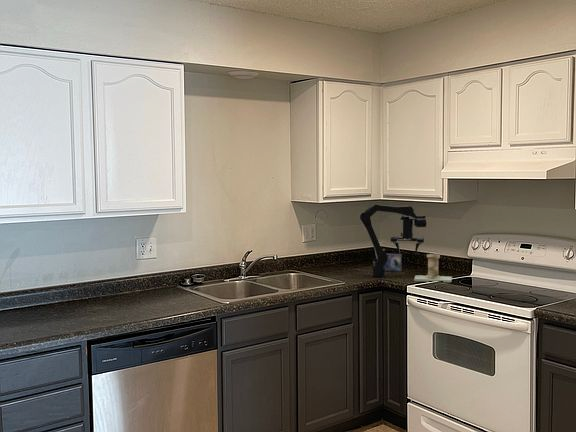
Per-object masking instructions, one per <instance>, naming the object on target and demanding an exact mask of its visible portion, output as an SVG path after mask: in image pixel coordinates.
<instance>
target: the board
mask: <svg viewBox="0 0 576 432" xmlns="http://www.w3.org/2000/svg"><path fill="white" fill-rule="evenodd" d="M439 276H440V275H439ZM452 278H453V276H446V275H445V276H444V275H441V276H440V278H438V279H430V278H426V275H421V274H420V275H419V274H417V275H415V276H414V281H415V282H429V281H443V282H442V283H451V282H452V280H453V279H452Z"/></svg>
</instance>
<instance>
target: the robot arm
mask: <svg viewBox="0 0 576 432" xmlns="http://www.w3.org/2000/svg"><path fill="white" fill-rule="evenodd" d="M414 211H415V210H414V208H413V206H410V205H397V206H394V205H388V204H387V205H386V204H378V203H374V204H373V205H372V206H370V207H369V208H367V209H366V210H364V211H361V212H360V213H359V215H358V218H359V220H360V222H361V223H362V224H363V226H364V228H365V230H366V232H367V234H368V237H369V239H370V241H371V244H372V247H373V248H374V252H375V258H374V259H373V261H372V263H373V265H372V276H371V277H372V278H384V277H385V276H386V271H385V268H384V264H385V263H386V262H387V261H388V255H387V254H386V253H387V250H386V249H385V248H382V247H381V244H380V242H379V240H378V237H377V234H376V233H375V232H376V231H374V228H373V226H372V220H371V219H372V216H373V215H374V214H376V213H377V212H385V213H386V212H387V213H394V214H399V215H401V216H400V217H399V218H398V219H399V220H400V221H402V230H401V231H400V237H399V236H398V235H397V236H394V235H393V236H391V237H390V242H392V244H394V245H395V248H396V250H397V254H401V250H400V242H416V244H415V250H414V255H415V256H416V255H417V253H418V249H419V246H420V245H422V244H423V243H425V237H424V236H417V237H414V231H413V229H414V228H413V227H415V228H426V227H427V218H426V215H416V213H415V212H414Z"/></svg>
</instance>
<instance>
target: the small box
mask: <svg viewBox="0 0 576 432" xmlns="http://www.w3.org/2000/svg"><path fill="white" fill-rule="evenodd" d="M386 254H387V255H388V261H387V262H386V263H385V264H384V268H385V272H388V271H389V272H393V273H402V270H403V269H402V265H403V264H402V257H403V254H402V253H400V254H399V253H387V252H386ZM389 272H388V273H389Z"/></svg>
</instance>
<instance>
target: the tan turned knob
mask: <svg viewBox="0 0 576 432" xmlns="http://www.w3.org/2000/svg"><path fill="white" fill-rule="evenodd" d="M426 259H427V274H426V275H425V276H426V278H430V279H438V278H440V275H439V259H441V254H435V253H429V254H428V253H427V254H426Z"/></svg>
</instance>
